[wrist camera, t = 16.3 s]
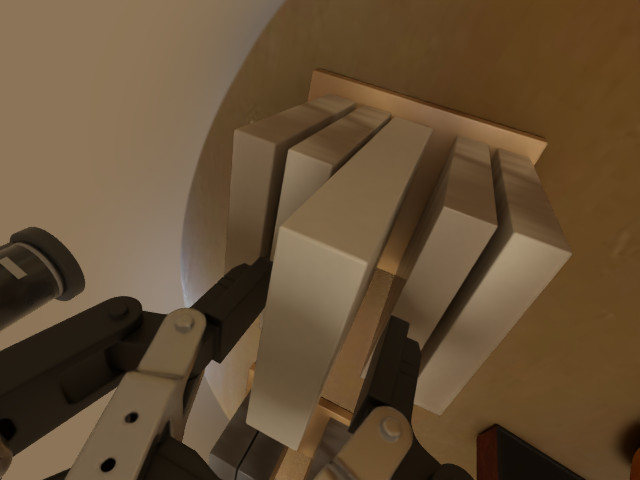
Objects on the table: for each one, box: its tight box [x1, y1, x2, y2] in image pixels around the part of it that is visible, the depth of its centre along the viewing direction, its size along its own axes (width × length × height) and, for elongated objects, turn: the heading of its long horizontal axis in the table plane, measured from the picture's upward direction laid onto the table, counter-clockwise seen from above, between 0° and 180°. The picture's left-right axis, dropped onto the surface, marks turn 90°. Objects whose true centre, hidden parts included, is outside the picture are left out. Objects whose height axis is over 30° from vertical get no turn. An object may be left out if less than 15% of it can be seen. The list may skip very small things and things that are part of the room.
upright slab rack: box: [224, 69, 572, 416], centre depth 19 cm, size 14×12×12 cm
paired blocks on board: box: [209, 363, 353, 480], centre depth 38 cm, size 18×12×10 cm, turn 77°
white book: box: [246, 117, 433, 451], centre depth 17 cm, size 2×10×15 cm, turn 167°
